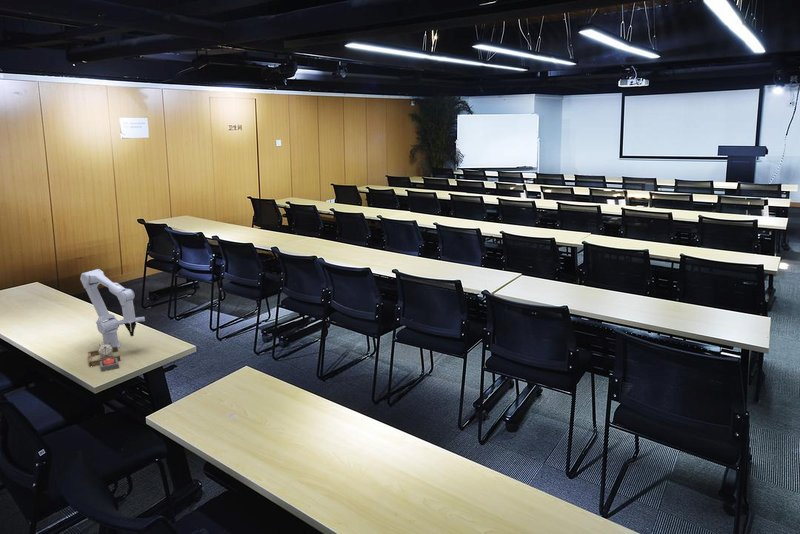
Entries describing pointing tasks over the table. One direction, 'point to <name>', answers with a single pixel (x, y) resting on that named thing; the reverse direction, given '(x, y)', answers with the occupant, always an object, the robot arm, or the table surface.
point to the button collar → (109, 367)
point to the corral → (97, 362)
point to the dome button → (108, 361)
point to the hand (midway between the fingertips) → (132, 335)
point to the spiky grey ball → (105, 351)
